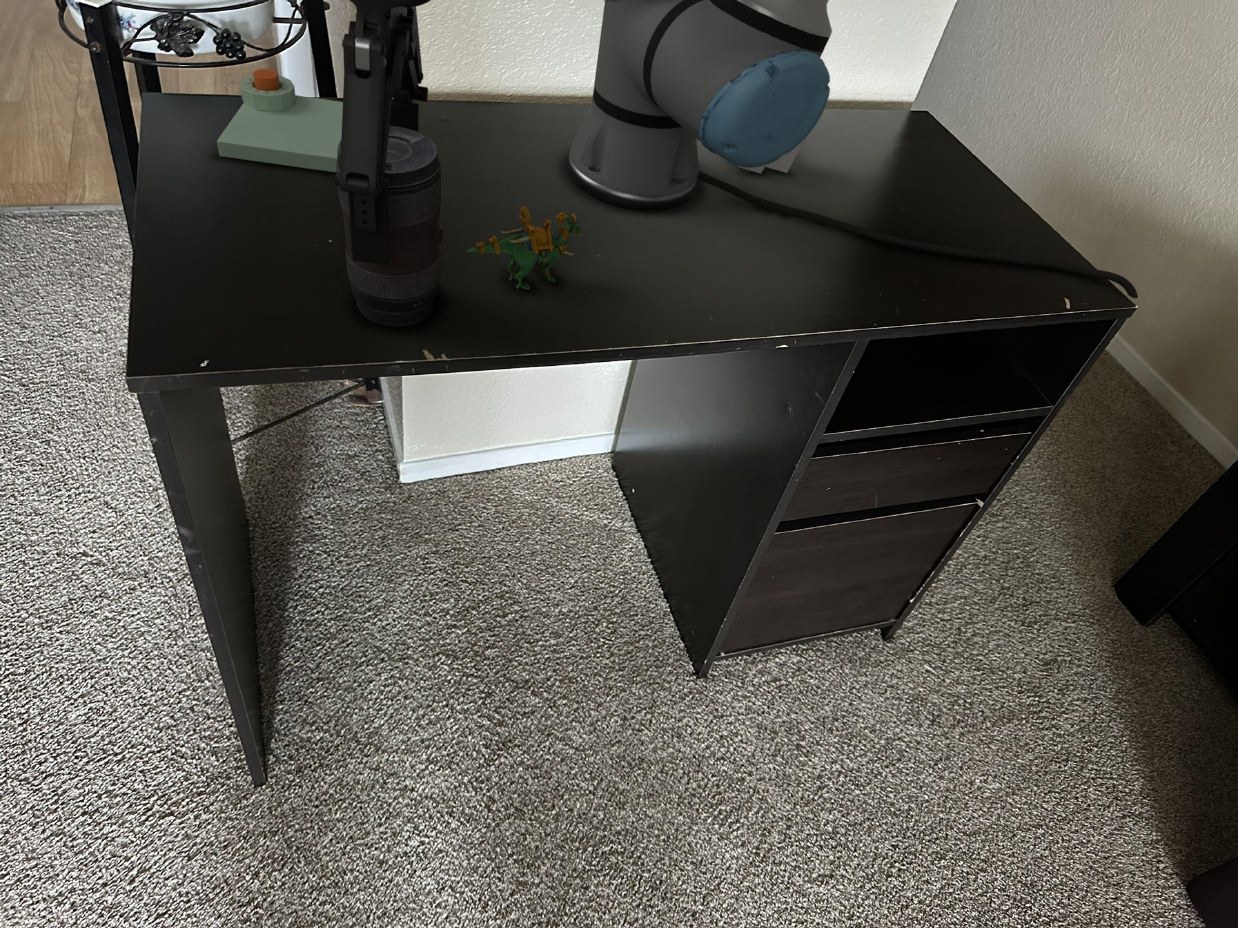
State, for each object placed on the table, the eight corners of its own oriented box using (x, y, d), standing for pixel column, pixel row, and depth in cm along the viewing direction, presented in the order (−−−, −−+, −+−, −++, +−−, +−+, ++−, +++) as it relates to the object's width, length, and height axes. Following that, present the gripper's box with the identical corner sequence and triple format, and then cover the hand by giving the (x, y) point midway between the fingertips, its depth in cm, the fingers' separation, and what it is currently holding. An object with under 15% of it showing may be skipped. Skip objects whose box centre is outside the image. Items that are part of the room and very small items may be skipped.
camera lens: (366, 270, 81) (355, 114, 70) (450, 288, 81) (453, 135, 71) (334, 320, 75) (317, 159, 65) (425, 339, 76) (424, 181, 65)
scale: (379, 119, 102) (378, 90, 99) (355, 175, 92) (353, 144, 90) (253, 101, 100) (249, 70, 98) (215, 156, 91) (209, 123, 88)
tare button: (282, 84, 97) (281, 71, 96) (276, 94, 96) (274, 80, 94) (258, 81, 97) (256, 67, 96) (252, 91, 95) (250, 76, 94)
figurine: (583, 279, 86) (594, 205, 80) (472, 304, 80) (475, 226, 74) (568, 262, 87) (577, 188, 81) (458, 285, 82) (460, 208, 76)
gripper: (361, -130, 65) (372, 140, 80) (266, -23, 48) (302, 296, 63) (461, -111, 66) (453, 152, 81) (404, 1, 48) (408, 310, 63)
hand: (388, 215), depth 72 cm, fingers open, 13 cm apart
